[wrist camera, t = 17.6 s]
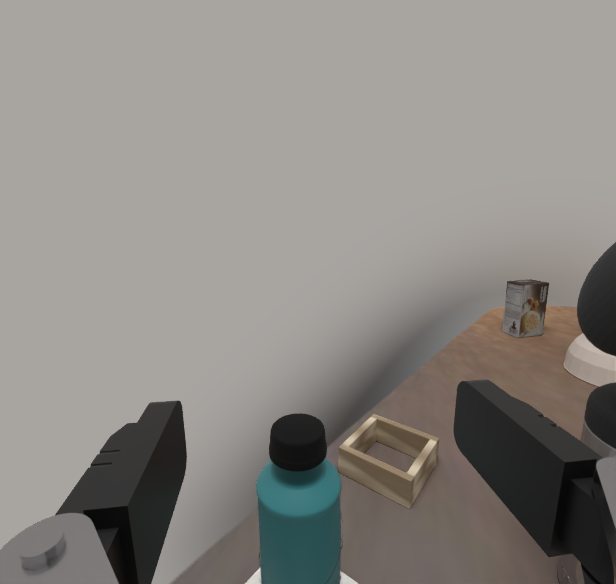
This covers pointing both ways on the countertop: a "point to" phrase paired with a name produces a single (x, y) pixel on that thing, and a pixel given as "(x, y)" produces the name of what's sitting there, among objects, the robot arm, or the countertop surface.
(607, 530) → the robot arm
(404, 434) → the rectangular wooden frame
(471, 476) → the countertop surface
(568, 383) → the countertop surface
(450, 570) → the countertop surface
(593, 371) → the kettle
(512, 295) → the coffee box
